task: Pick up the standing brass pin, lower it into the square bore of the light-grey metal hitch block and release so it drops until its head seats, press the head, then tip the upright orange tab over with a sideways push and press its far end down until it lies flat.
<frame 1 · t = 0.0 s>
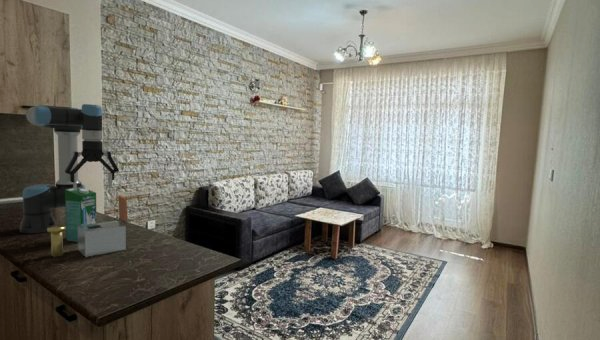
hand: (93, 188, 147), 28 cm above the counter, fingers open, 13 cm apart
hitch block: (102, 249, 151), on the counter
orange tab: (122, 209, 155), point 17 cm above the counter, hinge at 92.0°
milk carton: (81, 239, 164), on the counter
brass pin: (57, 254, 142), on the counter
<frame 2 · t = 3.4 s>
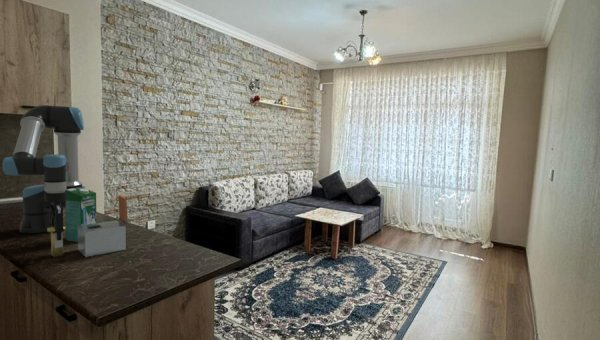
hand: (57, 244, 141), 4 cm above the counter, fingers closed on brass pin, 6 cm apart
brass pin: (57, 254, 142), on the counter, touching gripper
everything else where it was.
when the fingers open (13 cm above the counter, at t = 7.6 s): brass pin drops 8 cm, resting on hitch block.
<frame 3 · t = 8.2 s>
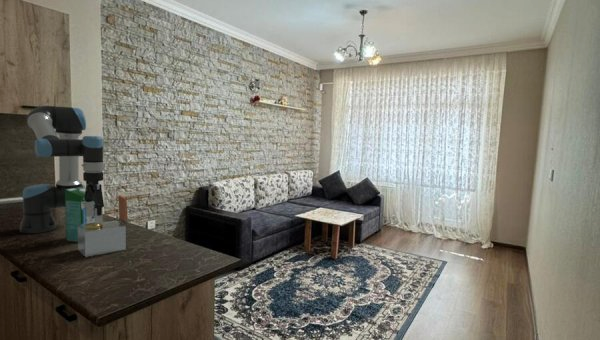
hand: (94, 219, 147), 14 cm above the counter, fingers open, 13 cm apart
brass pin: (94, 251, 148), resting on hitch block
everything else where it was.
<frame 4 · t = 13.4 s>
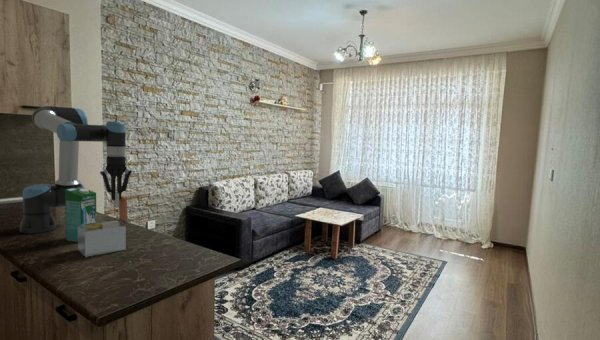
hand: (116, 206, 153), 19 cm above the counter, fingers closed
orange tab: (123, 209, 155), point 17 cm above the counter, hinge at 91.5°, touching gripper
everything else where it was.
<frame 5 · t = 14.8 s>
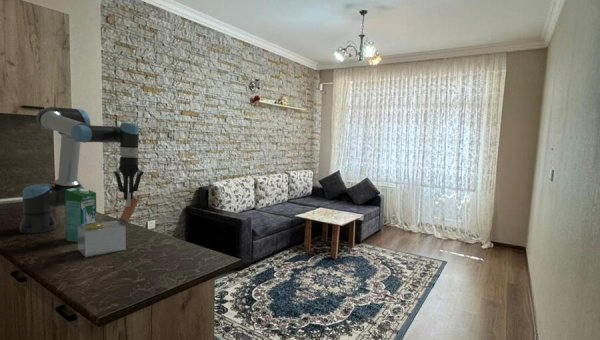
hand: (128, 206, 157), 19 cm above the counter, fingers closed
orange tab: (128, 210, 157), point 17 cm above the counter, hinge at 63.6°, touching gripper
everything else where it was.
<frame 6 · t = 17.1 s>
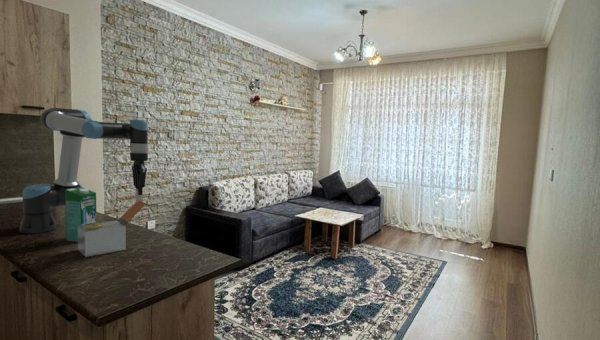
hand: (139, 201, 160), 21 cm above the counter, fingers closed
orange tab: (132, 211, 158), point 16 cm above the counter, hinge at 43.9°, touching gripper
everything else where it was.
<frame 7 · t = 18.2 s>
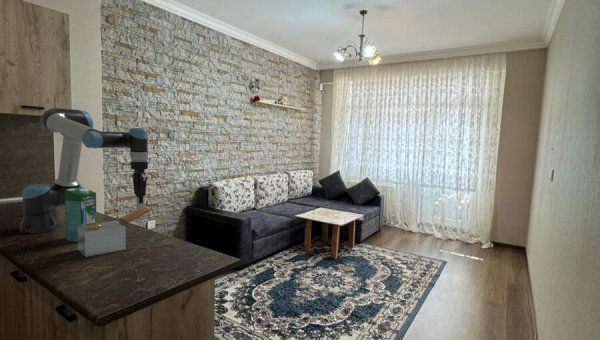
hand: (140, 209, 160), 16 cm above the counter, fingers closed
orange tab: (134, 215, 159), point 14 cm above the counter, hinge at 22.9°, touching gripper
everything else where it was.
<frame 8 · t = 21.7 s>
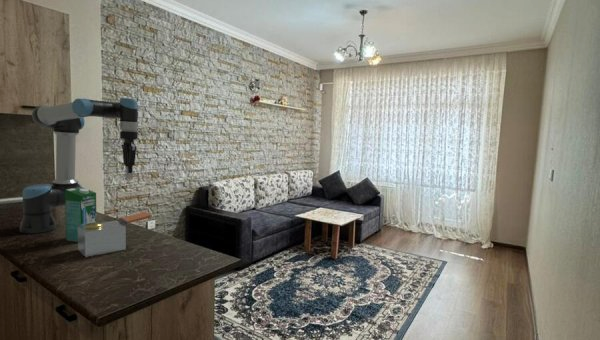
hand: (129, 179, 162), 30 cm above the counter, fingers closed
orange tab: (135, 217, 160), point 13 cm above the counter, hinge at 8.2°
everything else where it was.
at the end: brass pin 0.0 cm from the target spot on the hitch block, point 0.0 cm above the hitch block's base; brass pin tilted 0°; orange tab at +8° (first picture: +92°) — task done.
